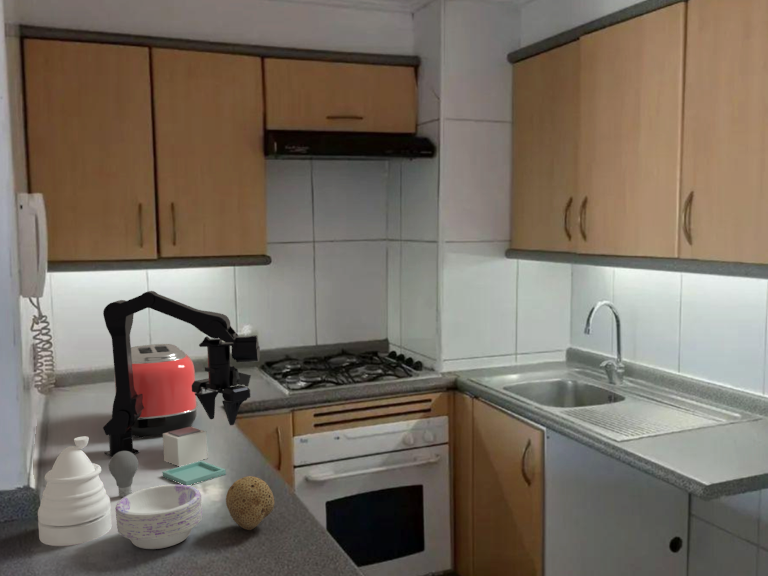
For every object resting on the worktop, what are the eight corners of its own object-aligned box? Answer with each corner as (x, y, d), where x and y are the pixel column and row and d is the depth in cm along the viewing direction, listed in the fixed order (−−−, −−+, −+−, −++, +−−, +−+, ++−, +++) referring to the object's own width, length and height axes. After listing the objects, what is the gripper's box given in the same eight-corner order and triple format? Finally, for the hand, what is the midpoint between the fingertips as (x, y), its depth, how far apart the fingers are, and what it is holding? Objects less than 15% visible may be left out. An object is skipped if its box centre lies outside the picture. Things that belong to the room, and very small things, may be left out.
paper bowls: (103, 540, 134) (101, 499, 134) (178, 516, 145) (176, 477, 144) (141, 566, 123) (138, 521, 123) (218, 537, 134) (216, 496, 133)
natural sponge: (255, 514, 144) (253, 466, 143) (285, 525, 138) (283, 475, 138) (218, 529, 138) (215, 478, 137) (247, 542, 132) (245, 489, 131)
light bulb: (130, 489, 161) (127, 445, 160) (145, 495, 157) (142, 450, 156) (105, 497, 156) (102, 452, 155) (120, 503, 152) (117, 457, 151)
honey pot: (107, 513, 147) (101, 427, 146) (116, 536, 136) (110, 442, 135) (37, 527, 141) (31, 437, 140) (41, 552, 130) (34, 454, 129)
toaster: (204, 433, 204) (200, 352, 202) (118, 444, 196) (113, 360, 194) (189, 408, 234) (185, 337, 232) (113, 417, 225) (109, 344, 223)
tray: (162, 476, 168) (162, 471, 168) (201, 465, 176) (201, 460, 176) (186, 486, 161) (186, 481, 161) (225, 474, 169) (225, 469, 169)
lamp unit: (164, 461, 180) (162, 432, 179) (193, 452, 186) (192, 424, 185) (179, 466, 175) (177, 437, 175) (208, 458, 181) (207, 429, 181)
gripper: (266, 362, 186) (268, 421, 187) (225, 354, 199) (227, 410, 200) (230, 369, 178) (232, 430, 179) (189, 360, 191) (192, 418, 192)
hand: (221, 422), depth 188 cm, fingers open, 9 cm apart
